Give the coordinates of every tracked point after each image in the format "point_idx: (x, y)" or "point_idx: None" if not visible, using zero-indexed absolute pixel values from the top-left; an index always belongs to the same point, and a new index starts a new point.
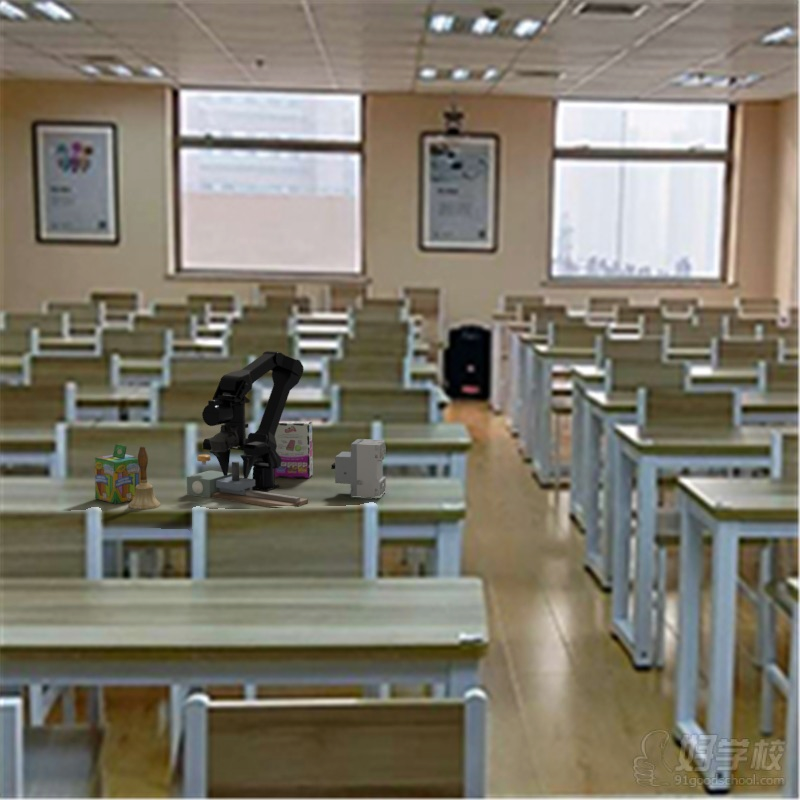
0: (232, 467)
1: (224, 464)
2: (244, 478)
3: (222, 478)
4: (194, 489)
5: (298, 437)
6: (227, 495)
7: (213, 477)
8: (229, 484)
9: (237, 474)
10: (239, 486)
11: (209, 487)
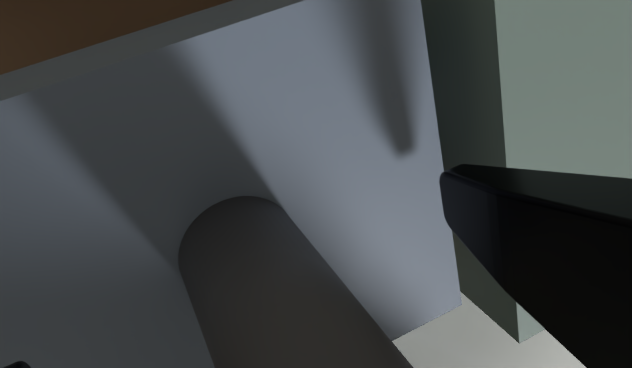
0: (340, 338)
1: (607, 269)
2: (15, 363)
3: (484, 163)
4: None
5: None
6: (132, 7)
7: (549, 23)
8: (113, 53)
9: (200, 322)
10: None
11: None
